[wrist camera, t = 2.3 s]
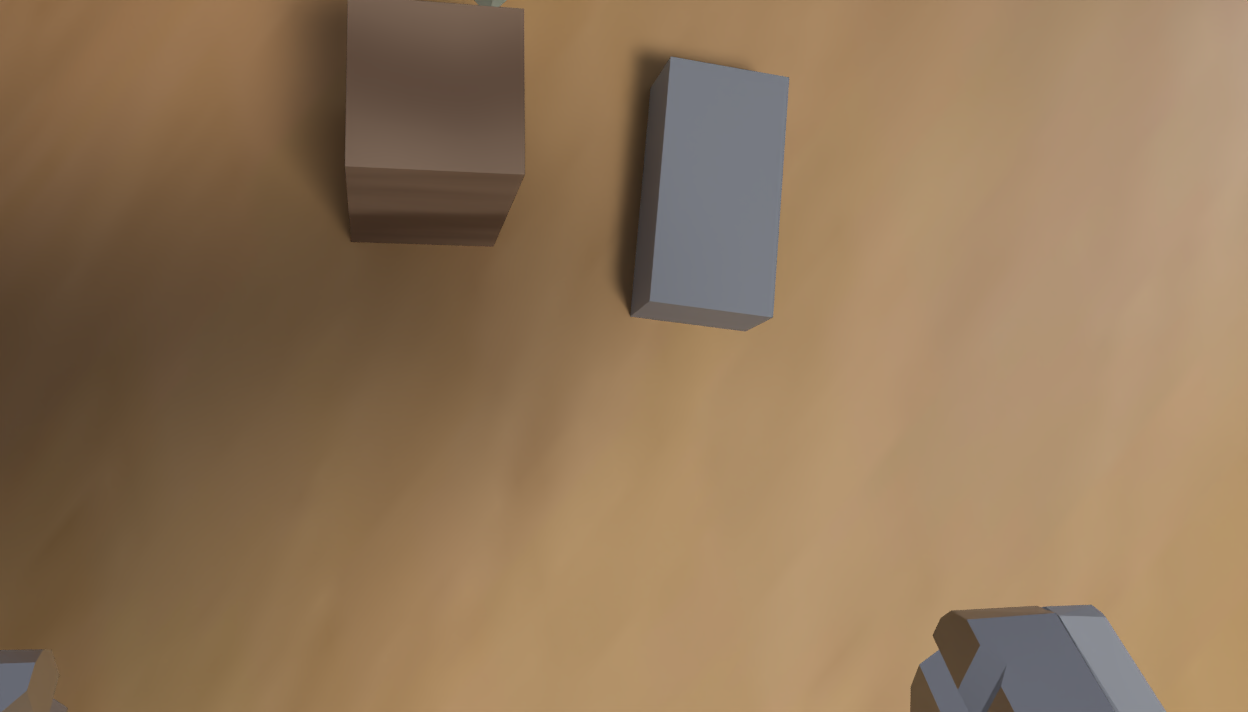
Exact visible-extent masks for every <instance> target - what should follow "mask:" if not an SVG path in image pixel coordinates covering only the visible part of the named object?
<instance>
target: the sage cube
mask: <svg viewBox="0 0 1248 712" xmlns="http://www.w3.org/2000/svg"><path fill="white" fill-rule="evenodd" d="M474 1H475V2H476V3H477V4H478V5H481V6H494V7H499V6H501V5H502V4H503V3H504V2H505V1H506V0H474Z"/></svg>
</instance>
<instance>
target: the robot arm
mask: <svg viewBox="0 0 1248 712" xmlns="http://www.w3.org/2000/svg"><path fill="white" fill-rule="evenodd" d="M933 637H934V640H935V642H936V644H937V646H938V648H939V650H938V651H937V652H936V653H934V654H933V655H932V656H930V657H929V658H928V659H926V660H925V661H924V662H922V663H921V664H920V665H919V667H918V669H917V672H916V675H915V677H914V680H913V682H912V685H911V702H910V712H1166V711H1165V709H1164V708H1163V706H1162V704H1161V703H1160V701H1159V700H1158V698H1157V697H1156V695H1155V694H1154V692H1153V690H1152V689H1151V687H1150V686H1149V684H1148V683H1147V681H1146V679H1145V678H1144V676H1143V675H1142V673H1141V672H1140V670H1139V669H1138V667H1137V665H1136V664H1135V662H1134V661H1133V659H1132V658H1131V656H1130V654H1129V653H1128V651H1127V650H1126V648H1125V647H1124V645H1123V643H1122V642H1121V640H1120V639H1119V637H1118V636H1117V634H1116V633H1115V631H1114V629H1113V628H1112V626H1111V625H1110V623H1109V622H1108V620H1107V618H1106V617H1105V616H1104V614H1103V613H1102V612H1100V611H1099V610H1098V609H1096V608H1095V607H1094V606H1092V605H1071V606H1048V607H1039V606H1025V607H1007V608H989V609H971V610H953V611H950V612H949V613H947V614H946V615H944V616H943V617H942V618H940V621H939V623H938V625H937V627H936V629H935V631H934V633H933ZM58 678H59V672H58V668H57V665H56V662H55V658H54V655H53V652H52V650H45V649H40V650H0V712H68V708H67V707H65V706H64V705H62V704H61V703H59V702H58V701H56V700H55V699H53V697H54V693H55V689H56V685H57V682H58Z"/></svg>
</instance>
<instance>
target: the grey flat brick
mask: <svg viewBox="0 0 1248 712" xmlns="http://www.w3.org/2000/svg"><path fill="white" fill-rule="evenodd" d="M788 87H789V77H783V76H778V75H772V74H766V73H761V72H755V71H749V70H744V69H738V68H733V67H727V66H721V65H716V64H710V63H704V62H699V61H693V60H687V59H682V58H676V57H670V59H669V60H668V62H667V63H666V65H665V66H664V68H663V69H662V71H661V73H660V74H659V76H658V77H657V79H656V80H655V82H654V83H653V85H652V87H651V89H650V100H649V112H648V123H647V134H646V145H645V157H644V168H643V179H642V190H641V202H640V213H639V224H638V236H637V247H636V258H635V269H634V281H633V292H632V303H631V314H630V317H638V318H646V319H654V320H661V321H669V322H677V323H685V324H692V325H700V326H708V327H716V328H723V329H731V330H739V331H747V330H749V329H751V328H753V327H755V326H757V325H759V324H761V323H763V322H765V321H767V320H769V319H771V318H773V308H774V293H775V279H776V264H777V249H778V235H779V220H780V205H781V190H782V176H783V161H784V146H785V131H786V117H787V102H788Z"/></svg>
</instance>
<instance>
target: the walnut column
mask: <svg viewBox="0 0 1248 712" xmlns="http://www.w3.org/2000/svg"><path fill="white" fill-rule="evenodd" d="M345 173H346V185H347V198H348V210H349V222H350V234H351V242H371V243H401V244H432V245H462V246H494V244H495V242H496V239H497V237H498V235H499V232H500V230H501V228H502V226H503V223H504V221H505V219H506V216H507V214H508V212H509V210H510V207H511V205H512V203H513V201H514V198H515V196H516V194H517V191H518V189H519V187H520V185H521V182H522V180H523V178H524V175H525V110H524V9H519V8H506V7H494V6H481V5H468V4H455V3H442V2H429V1H416V0H348V17H347V76H346V134H345Z"/></svg>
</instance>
